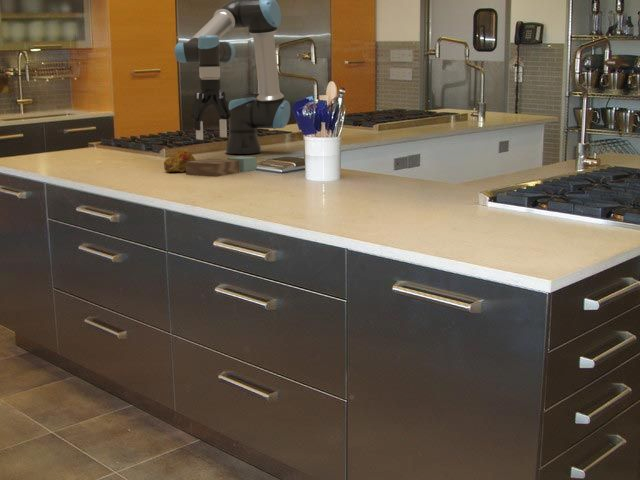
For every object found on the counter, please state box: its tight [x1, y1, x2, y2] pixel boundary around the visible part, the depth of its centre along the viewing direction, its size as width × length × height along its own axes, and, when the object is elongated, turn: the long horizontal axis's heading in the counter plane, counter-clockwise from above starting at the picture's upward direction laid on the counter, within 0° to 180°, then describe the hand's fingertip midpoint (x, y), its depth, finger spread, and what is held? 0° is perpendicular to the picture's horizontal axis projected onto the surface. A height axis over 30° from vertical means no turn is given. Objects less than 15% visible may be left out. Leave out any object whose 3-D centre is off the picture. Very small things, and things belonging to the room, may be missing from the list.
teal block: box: [226, 155, 258, 173], centre depth 339 cm, size 8×8×5 cm
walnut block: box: [185, 158, 240, 178], centre depth 328 cm, size 14×14×5 cm
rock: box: [163, 148, 196, 173], centre depth 335 cm, size 11×8×10 cm
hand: (211, 138), depth 326 cm, fingers open, 12 cm apart
